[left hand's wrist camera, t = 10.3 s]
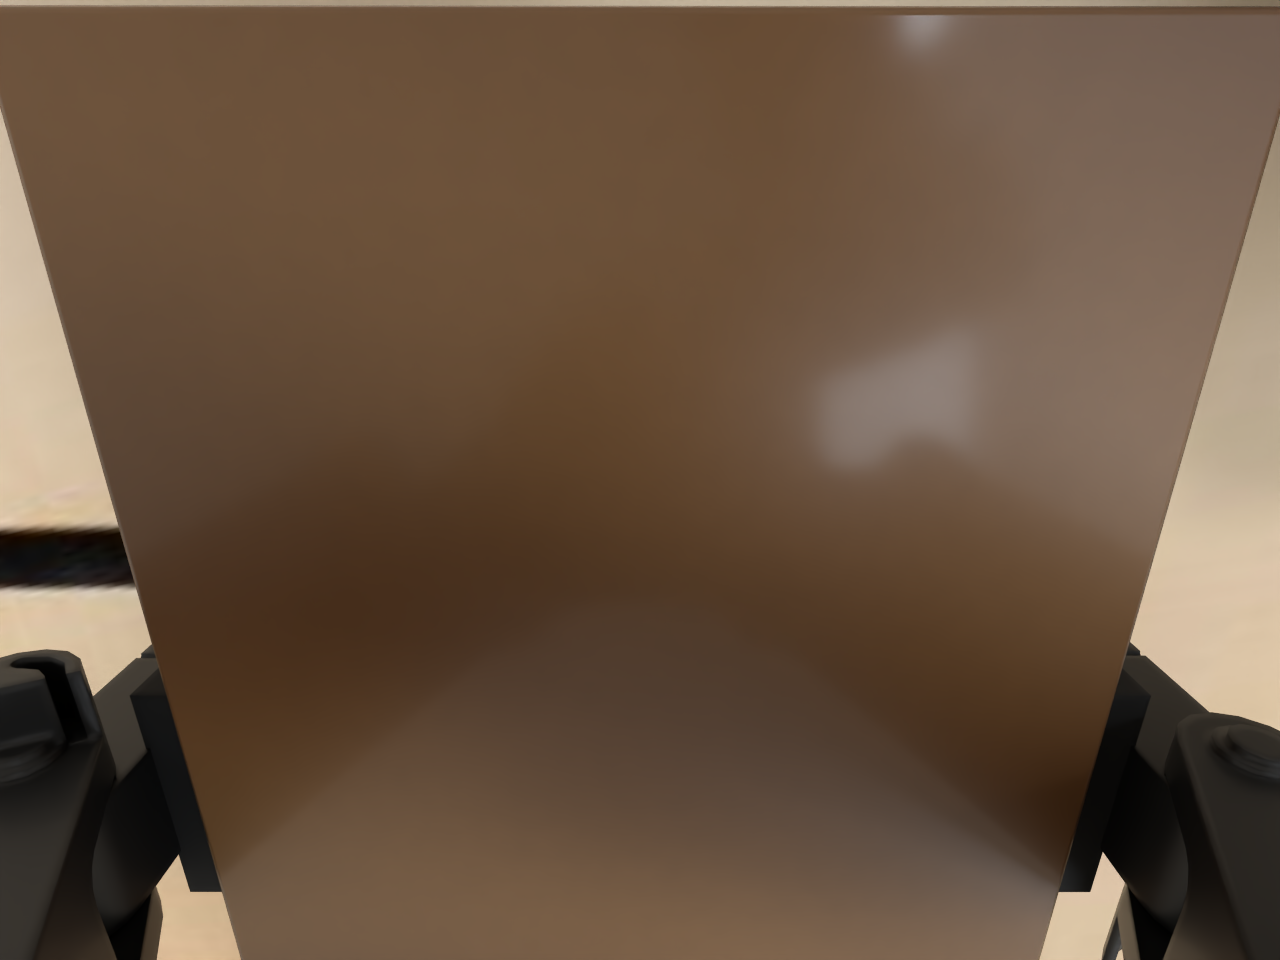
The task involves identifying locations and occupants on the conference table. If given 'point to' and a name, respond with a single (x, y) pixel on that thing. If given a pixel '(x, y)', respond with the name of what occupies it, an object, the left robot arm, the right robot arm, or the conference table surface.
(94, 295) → the slab
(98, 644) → the conference table surface
